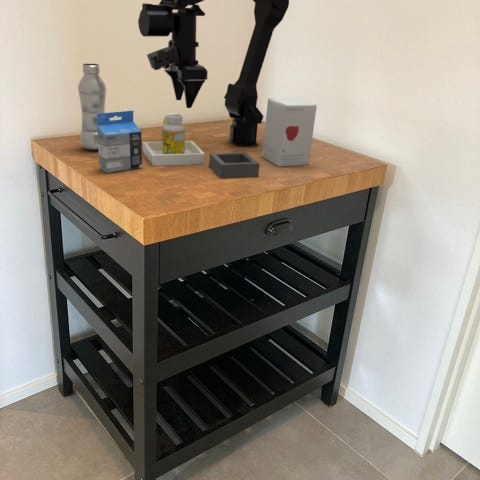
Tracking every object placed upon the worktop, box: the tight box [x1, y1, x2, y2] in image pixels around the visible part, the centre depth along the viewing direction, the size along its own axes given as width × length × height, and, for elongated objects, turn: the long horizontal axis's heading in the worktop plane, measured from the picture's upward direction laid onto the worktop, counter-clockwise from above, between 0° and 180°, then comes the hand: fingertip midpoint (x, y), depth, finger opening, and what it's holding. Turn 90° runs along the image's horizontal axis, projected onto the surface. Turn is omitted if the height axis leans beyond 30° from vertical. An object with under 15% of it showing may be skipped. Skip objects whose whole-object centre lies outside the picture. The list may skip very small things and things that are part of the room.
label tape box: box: [97, 110, 143, 174], centre depth 114 cm, size 9×4×12 cm, turn 129°
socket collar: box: [208, 151, 260, 179], centre depth 121 cm, size 9×9×3 cm
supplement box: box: [261, 97, 318, 168], centre depth 128 cm, size 9×9×15 cm
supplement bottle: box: [161, 113, 186, 154], centre depth 125 cm, size 5×5×10 cm
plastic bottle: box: [77, 62, 107, 151], centre depth 125 cm, size 6×7×20 cm
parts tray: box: [142, 140, 206, 167], centre depth 126 cm, size 13×12×2 cm
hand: (183, 103), depth 129 cm, fingers open, 9 cm apart
